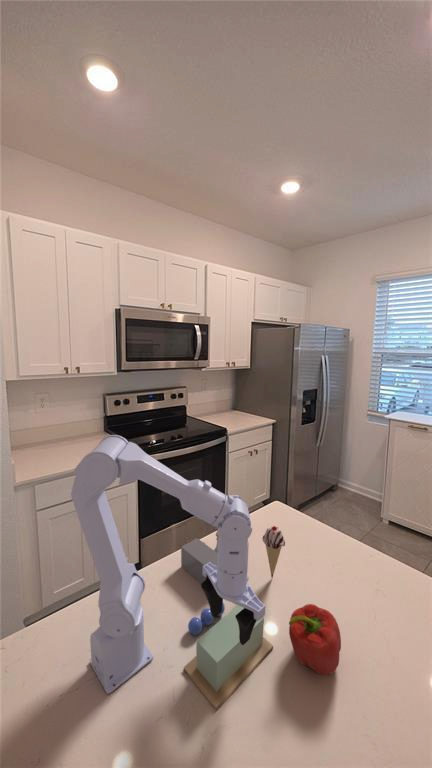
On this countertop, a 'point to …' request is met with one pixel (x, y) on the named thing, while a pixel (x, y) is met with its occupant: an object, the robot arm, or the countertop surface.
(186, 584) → the countertop surface
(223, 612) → the marble
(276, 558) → the ice cream cone
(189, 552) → the gray block
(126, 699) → the countertop surface
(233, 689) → the cork trivet
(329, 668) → the vegetable
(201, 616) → the marble
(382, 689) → the countertop surface
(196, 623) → the marble
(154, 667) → the countertop surface
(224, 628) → the sage cover
